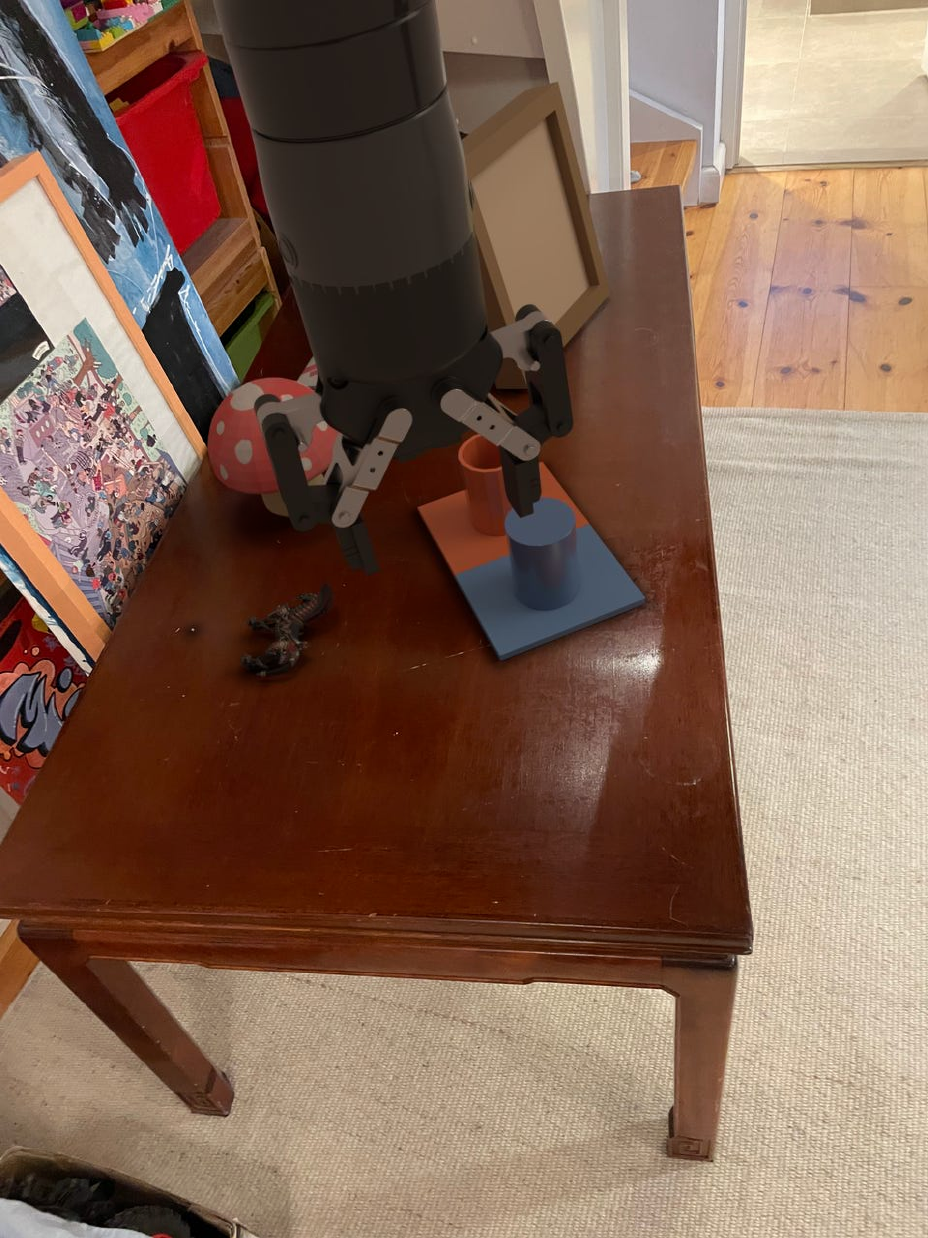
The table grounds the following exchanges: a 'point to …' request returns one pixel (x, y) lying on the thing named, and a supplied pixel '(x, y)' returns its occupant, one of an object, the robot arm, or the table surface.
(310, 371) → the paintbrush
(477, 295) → the robot arm
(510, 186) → the photo frame
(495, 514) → the red cup
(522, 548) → the blue cylinder
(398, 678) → the table surface
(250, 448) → the decorative mushroom
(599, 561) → the board
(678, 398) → the table surface
